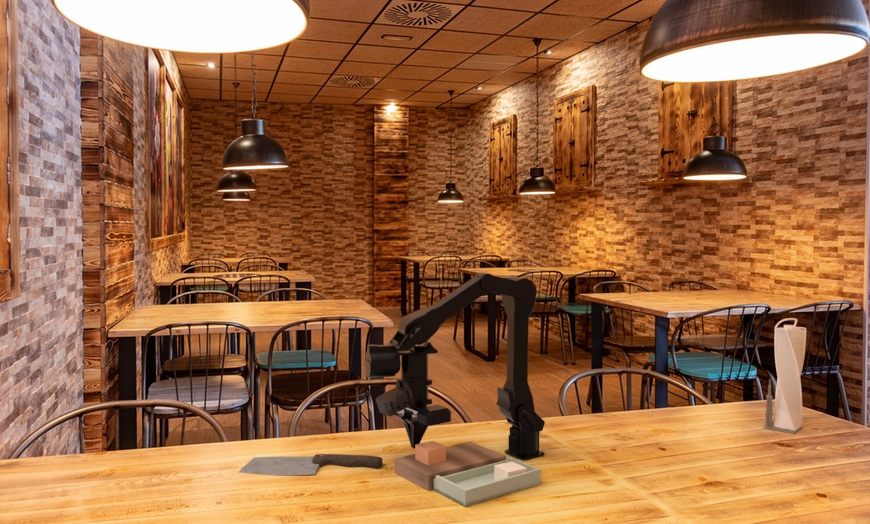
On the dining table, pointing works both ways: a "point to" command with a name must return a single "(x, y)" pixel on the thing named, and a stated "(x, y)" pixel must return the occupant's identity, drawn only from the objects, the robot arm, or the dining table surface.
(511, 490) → the tray
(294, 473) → the cleaver
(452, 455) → the plate
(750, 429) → the dining table surface
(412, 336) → the robot arm
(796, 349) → the skyscraper
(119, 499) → the dining table surface
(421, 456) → the salmon pink cube
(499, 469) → the pale pink cube
